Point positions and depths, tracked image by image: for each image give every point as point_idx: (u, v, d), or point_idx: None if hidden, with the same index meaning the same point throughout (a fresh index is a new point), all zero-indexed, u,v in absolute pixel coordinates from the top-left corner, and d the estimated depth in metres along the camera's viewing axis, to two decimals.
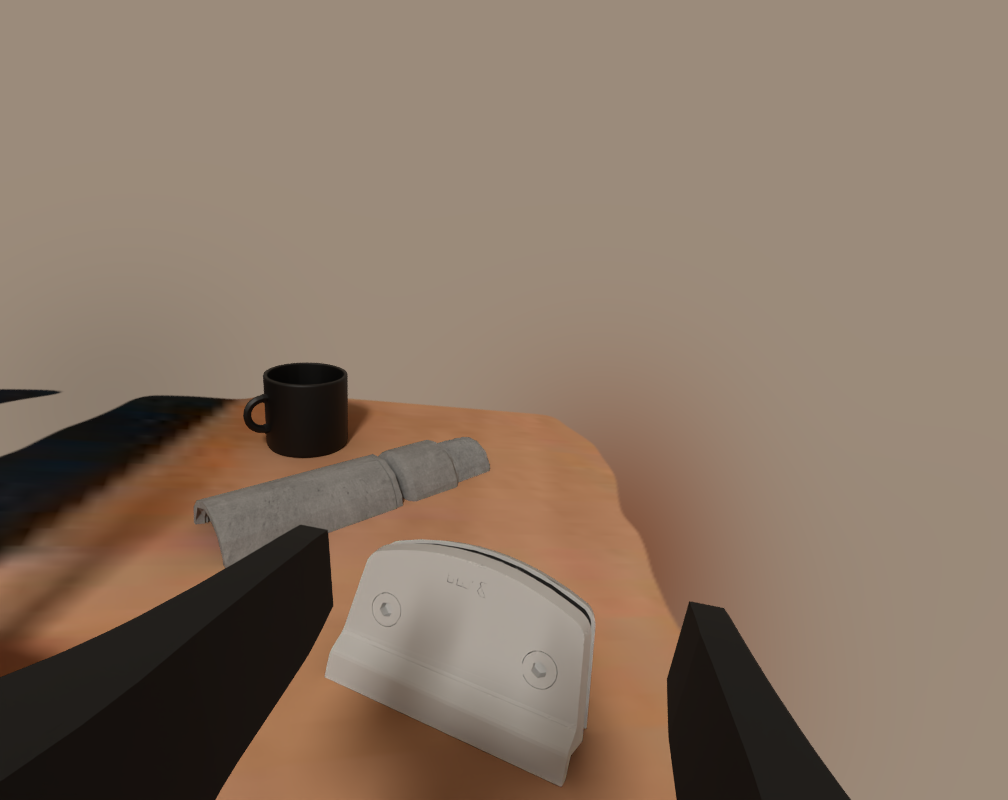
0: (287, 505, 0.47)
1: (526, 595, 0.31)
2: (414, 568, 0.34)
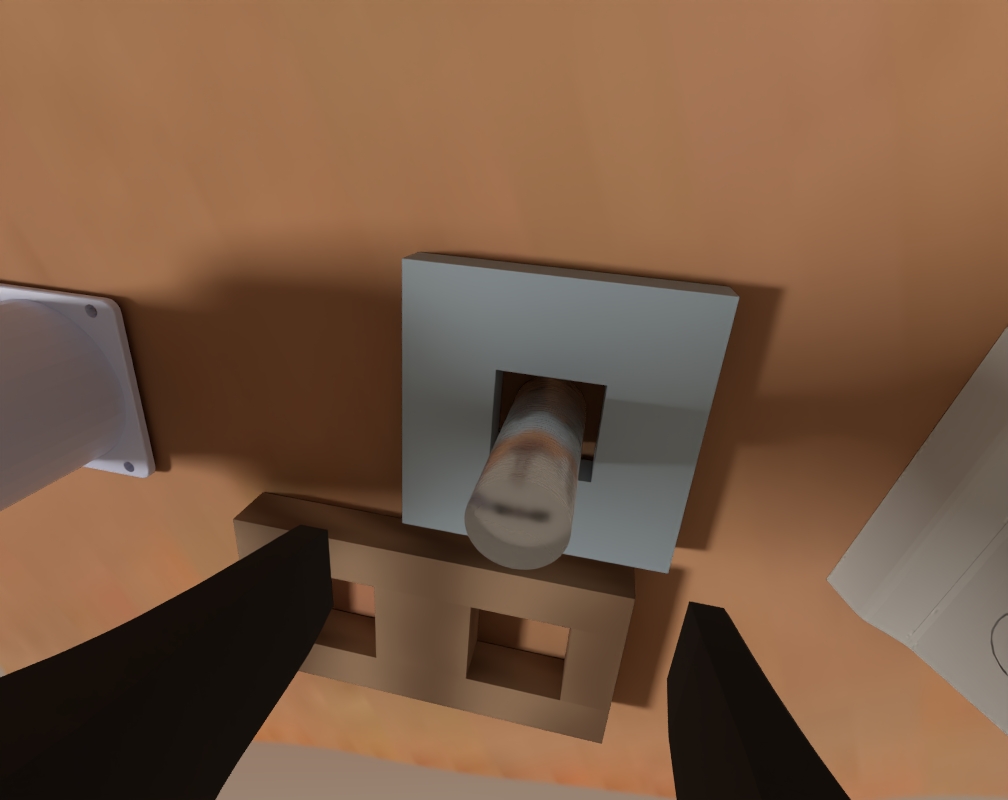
0: None
1: None
2: None
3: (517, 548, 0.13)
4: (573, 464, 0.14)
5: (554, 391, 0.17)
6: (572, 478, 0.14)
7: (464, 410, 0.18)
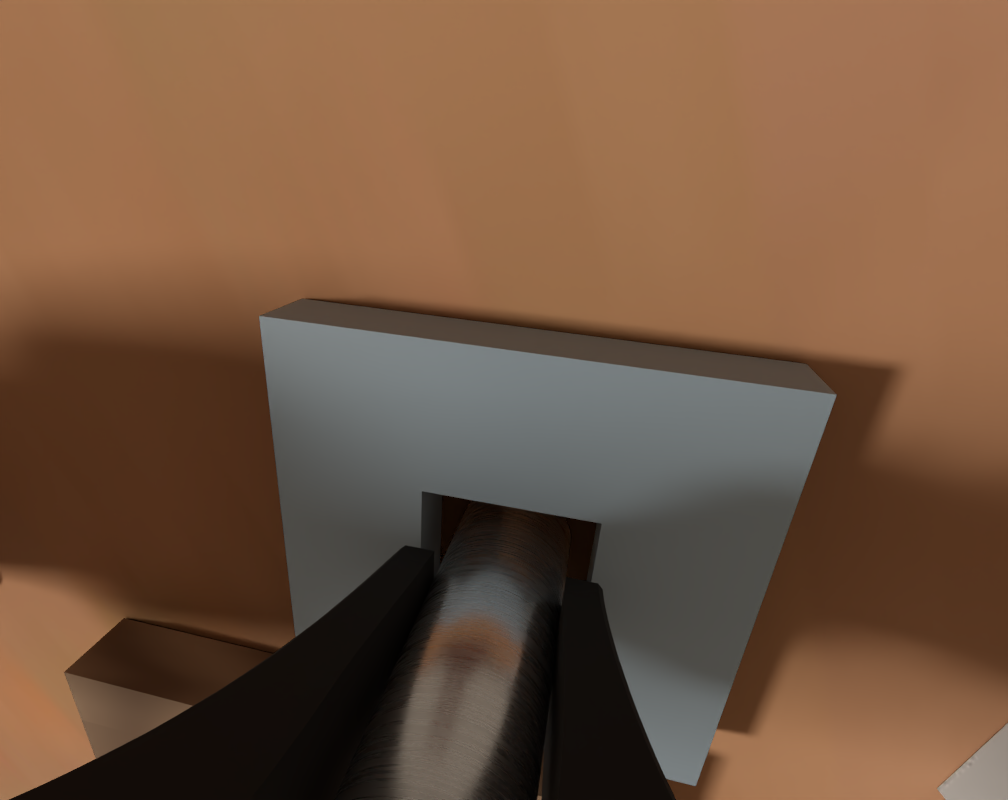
0: None
1: None
2: None
3: None
4: (536, 711, 0.08)
5: (516, 525, 0.11)
6: (531, 757, 0.07)
7: (377, 546, 0.12)
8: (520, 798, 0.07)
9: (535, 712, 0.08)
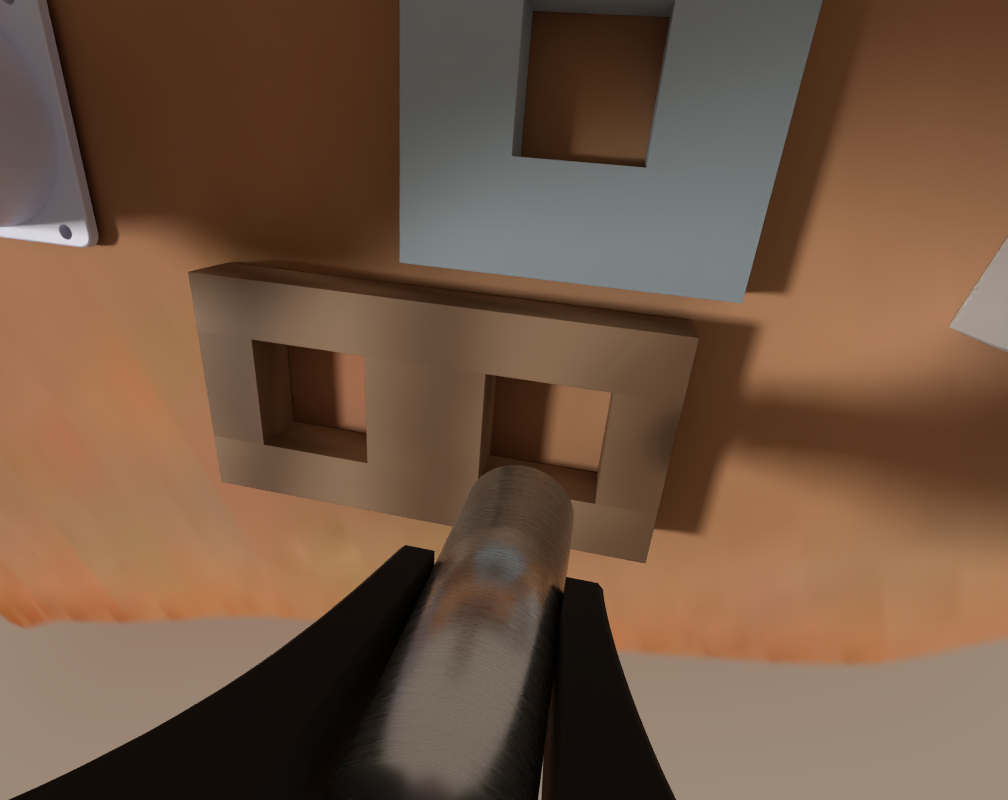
0: None
1: None
2: None
3: None
4: (543, 666, 0.08)
5: (521, 499, 0.11)
6: (539, 706, 0.07)
7: (481, 69, 0.14)
8: (528, 741, 0.07)
9: (542, 667, 0.08)
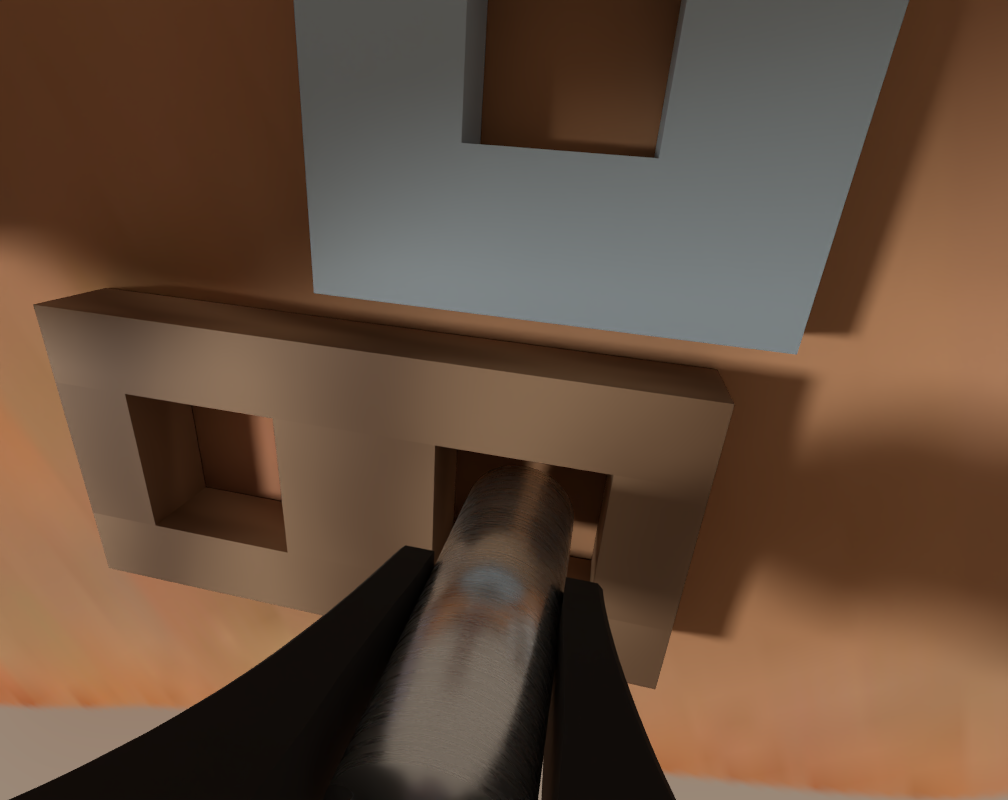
0: None
1: None
2: None
3: None
4: (543, 667, 0.08)
5: (521, 500, 0.11)
6: (539, 707, 0.07)
7: (412, 12, 0.09)
8: (528, 742, 0.07)
9: (541, 668, 0.08)
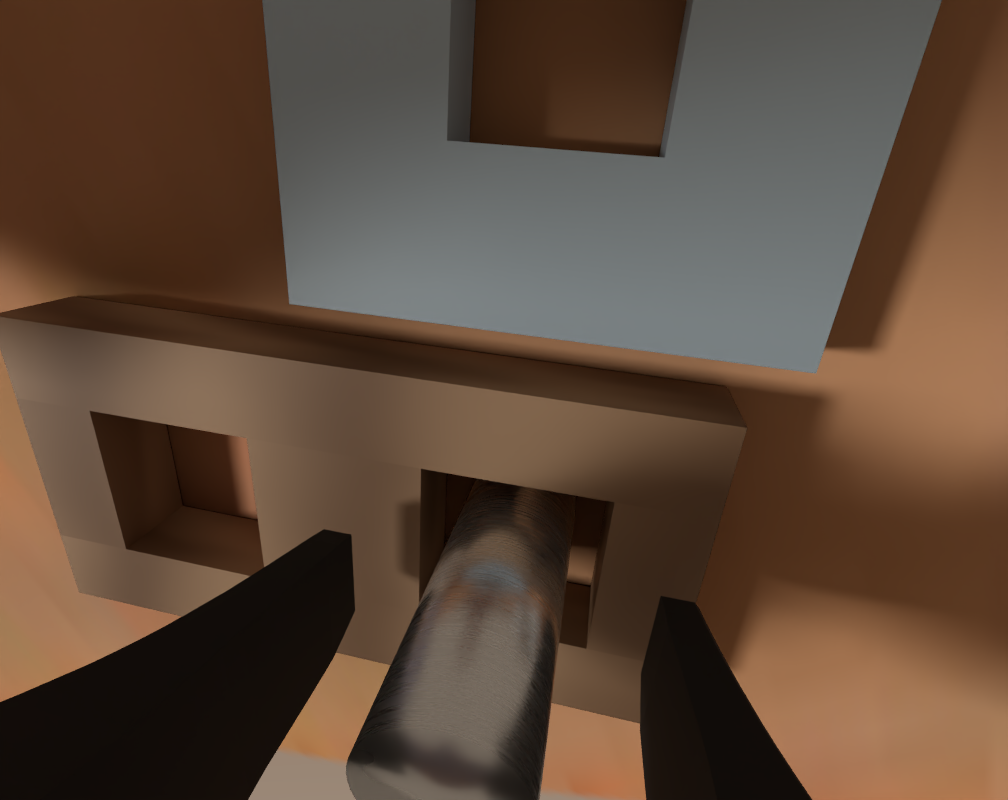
0: None
1: None
2: None
3: None
4: (548, 643, 0.09)
5: (525, 487, 0.12)
6: (544, 680, 0.08)
7: None
8: (535, 710, 0.07)
9: (546, 644, 0.09)
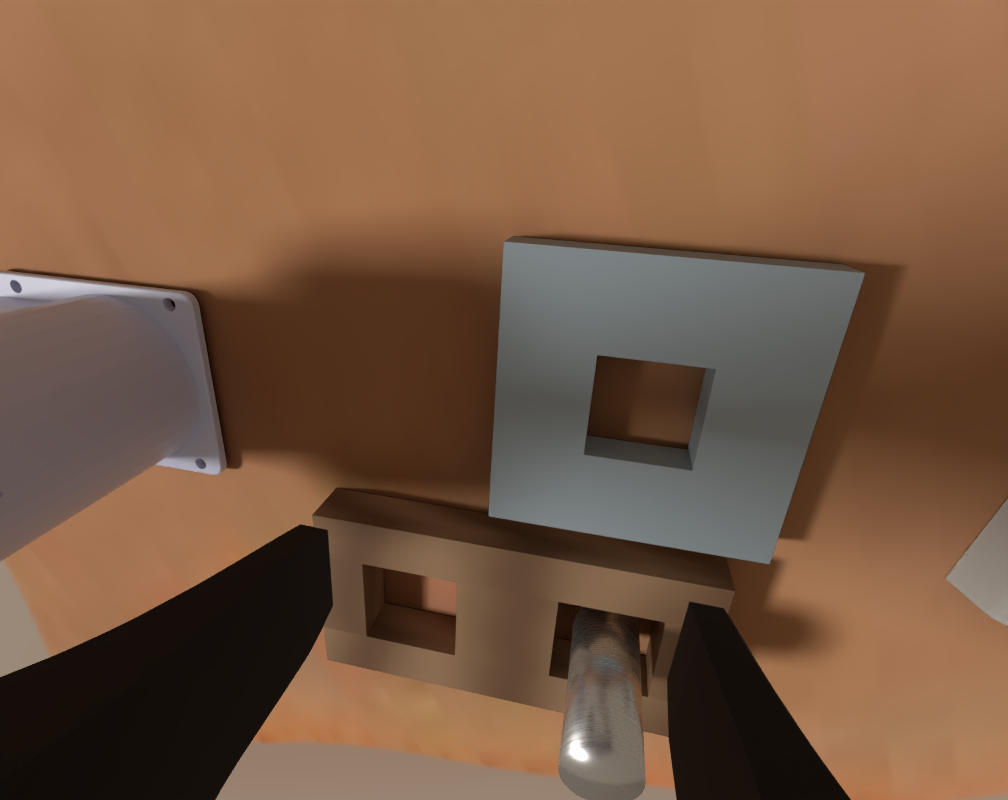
0: None
1: None
2: None
3: (601, 790, 0.16)
4: (639, 703, 0.18)
5: None
6: (640, 722, 0.17)
7: (561, 398, 0.18)
8: (640, 737, 0.17)
9: (639, 703, 0.18)
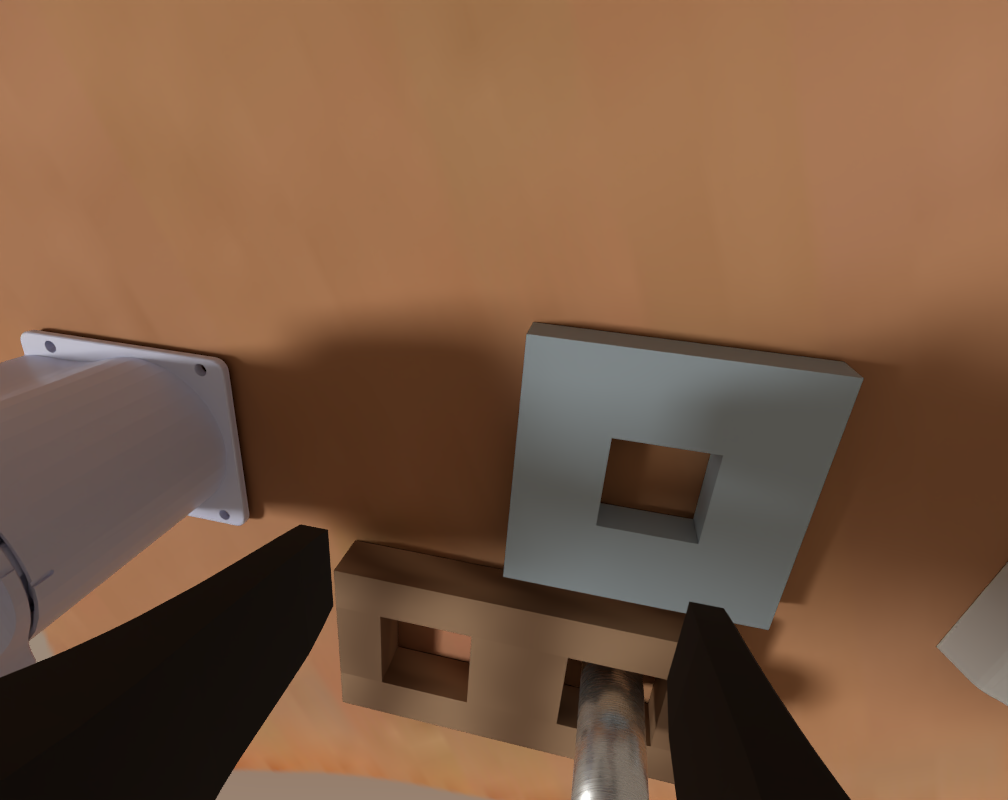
0: None
1: None
2: None
3: None
4: (644, 761, 0.19)
5: None
6: (646, 781, 0.18)
7: (576, 474, 0.19)
8: (645, 797, 0.18)
9: (644, 762, 0.19)
